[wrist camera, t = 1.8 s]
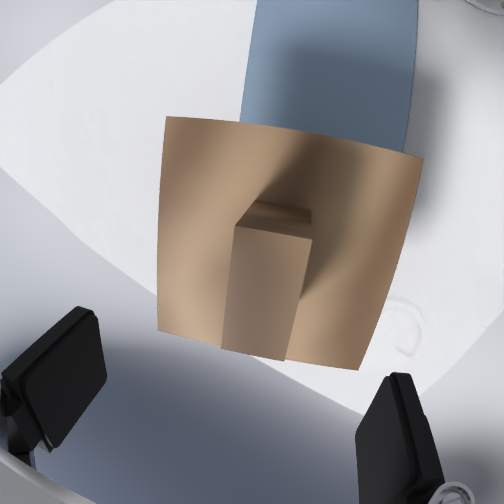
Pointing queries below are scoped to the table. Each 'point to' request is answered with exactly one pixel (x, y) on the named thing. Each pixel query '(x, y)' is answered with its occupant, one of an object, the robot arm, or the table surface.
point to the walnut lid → (278, 238)
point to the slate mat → (333, 68)
